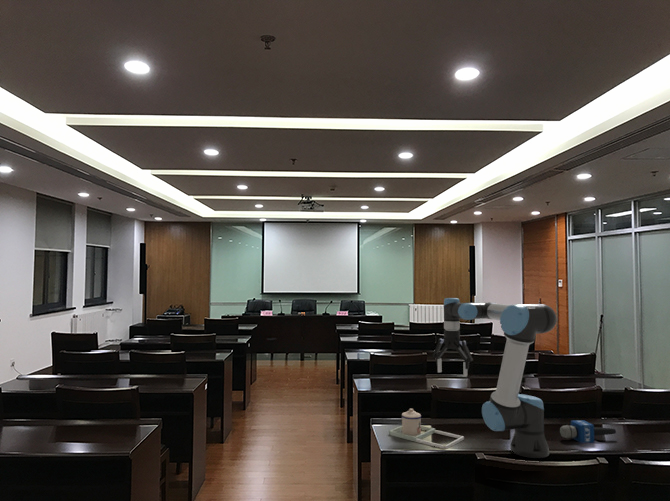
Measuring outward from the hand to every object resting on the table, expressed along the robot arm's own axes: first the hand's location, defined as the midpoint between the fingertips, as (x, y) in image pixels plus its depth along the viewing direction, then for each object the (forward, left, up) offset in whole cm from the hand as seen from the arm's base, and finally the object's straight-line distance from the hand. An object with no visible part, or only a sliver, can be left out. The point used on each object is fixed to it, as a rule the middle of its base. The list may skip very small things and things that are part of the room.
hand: (452, 374), depth 235 cm
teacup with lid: (+12, +18, -27) cm, 34 cm away
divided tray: (+4, +18, -27) cm, 32 cm away
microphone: (-53, -28, -27) cm, 65 cm away
